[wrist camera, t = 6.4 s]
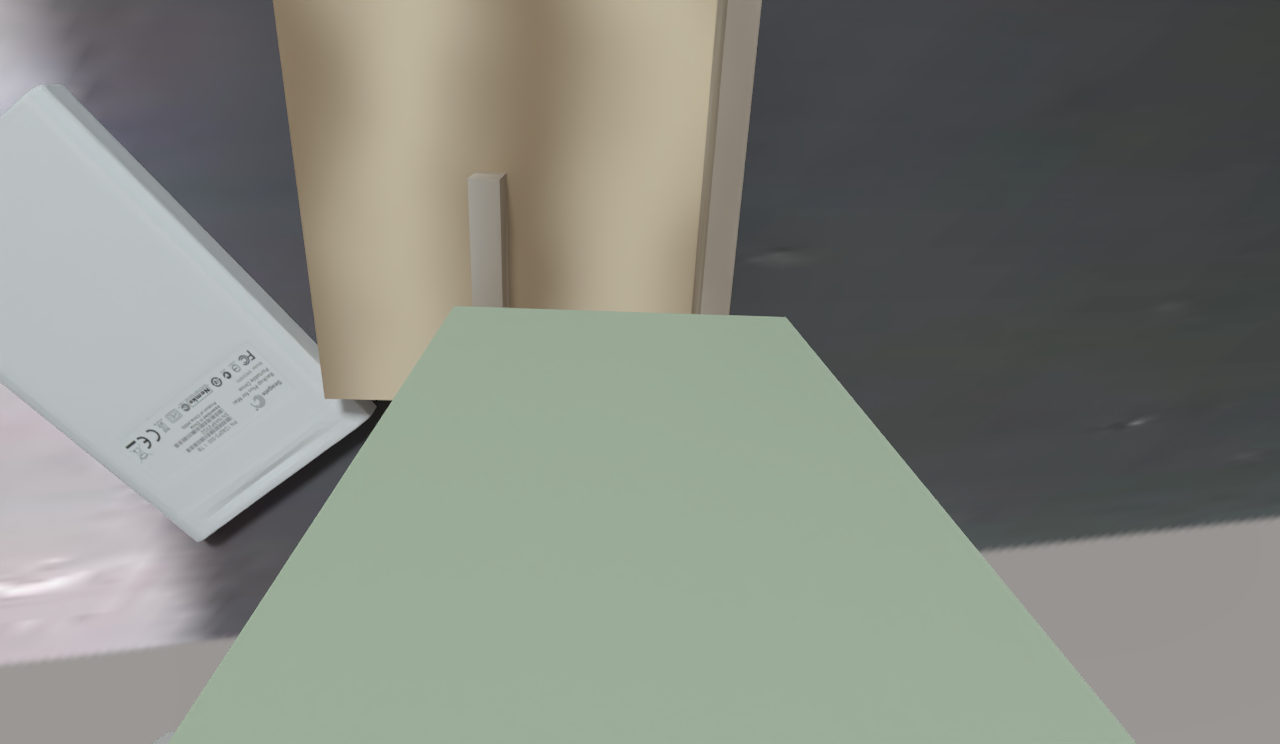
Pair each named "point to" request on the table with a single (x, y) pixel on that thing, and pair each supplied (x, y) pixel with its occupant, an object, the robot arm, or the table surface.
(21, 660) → the table surface
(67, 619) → the table surface
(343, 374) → the shelf
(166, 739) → the robot arm
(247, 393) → the external hard drive
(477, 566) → the tea box
